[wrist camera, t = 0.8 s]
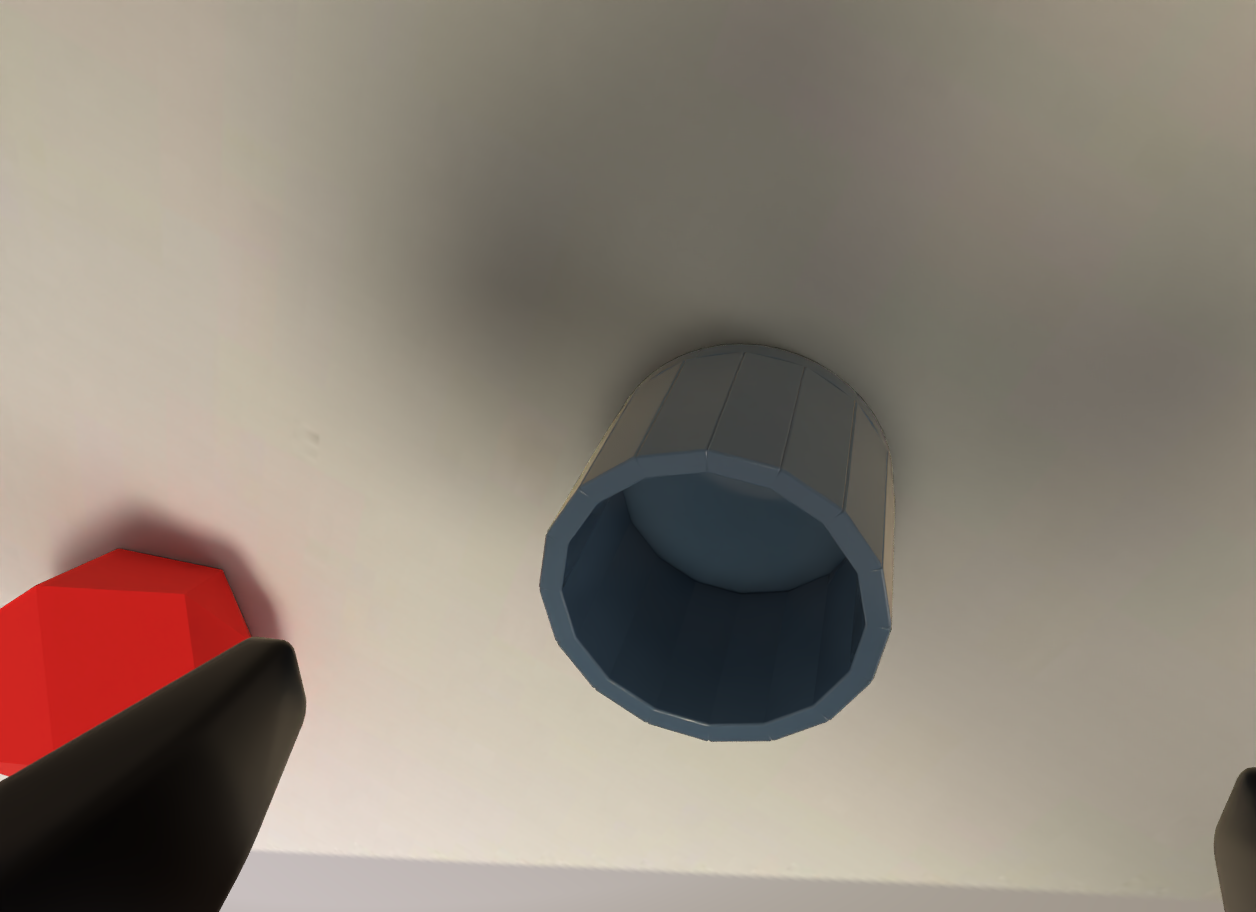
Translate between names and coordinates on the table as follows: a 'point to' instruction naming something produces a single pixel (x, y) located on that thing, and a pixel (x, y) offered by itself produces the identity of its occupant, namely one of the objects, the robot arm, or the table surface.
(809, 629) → the enamel cup
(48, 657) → the apple
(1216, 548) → the table surface
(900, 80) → the table surface
